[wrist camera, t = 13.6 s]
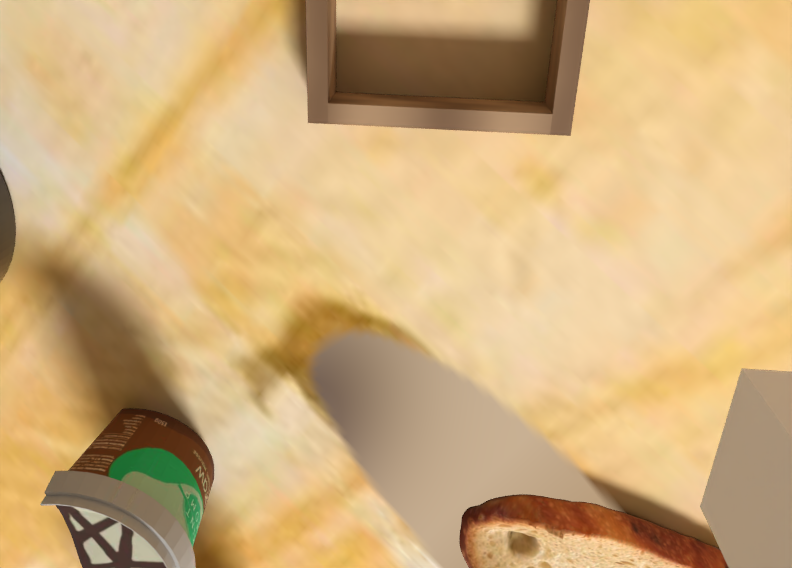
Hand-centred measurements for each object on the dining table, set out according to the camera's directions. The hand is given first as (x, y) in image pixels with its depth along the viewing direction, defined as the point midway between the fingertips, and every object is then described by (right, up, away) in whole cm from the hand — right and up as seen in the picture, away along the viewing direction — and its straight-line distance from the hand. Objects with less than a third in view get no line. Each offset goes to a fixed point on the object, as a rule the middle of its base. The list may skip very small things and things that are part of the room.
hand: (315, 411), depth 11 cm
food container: (-13, -10, +38) cm, 41 cm away
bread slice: (+16, -17, +40) cm, 46 cm away
